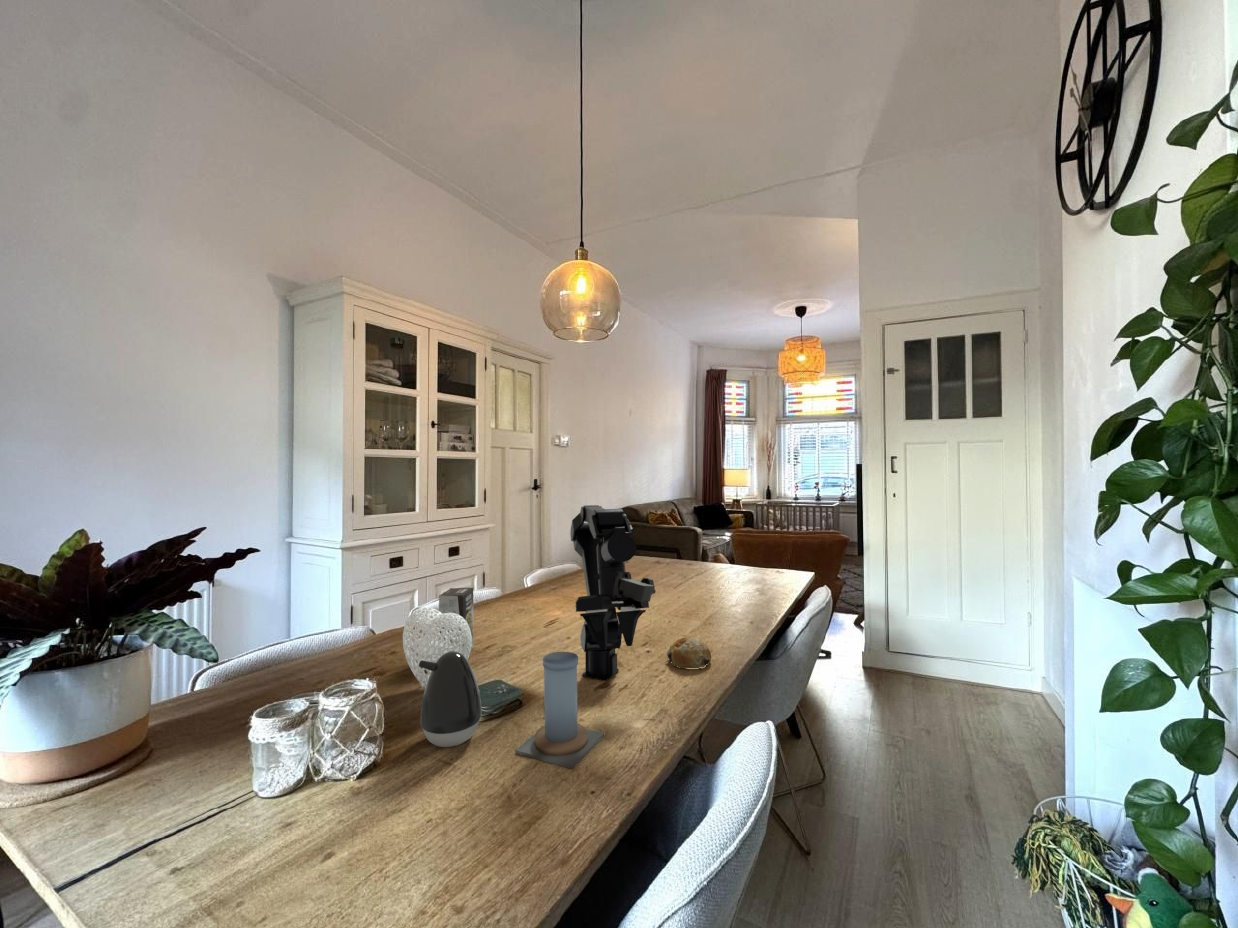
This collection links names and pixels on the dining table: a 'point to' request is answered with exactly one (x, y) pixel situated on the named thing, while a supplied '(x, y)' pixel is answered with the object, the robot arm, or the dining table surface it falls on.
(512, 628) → the dining table surface
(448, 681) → the pump dispenser
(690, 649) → the brown domed lump
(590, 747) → the grey brown domed tile
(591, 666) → the robot arm
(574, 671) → the canister
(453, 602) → the coffee box
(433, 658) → the decorative heart
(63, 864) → the dining table surface
